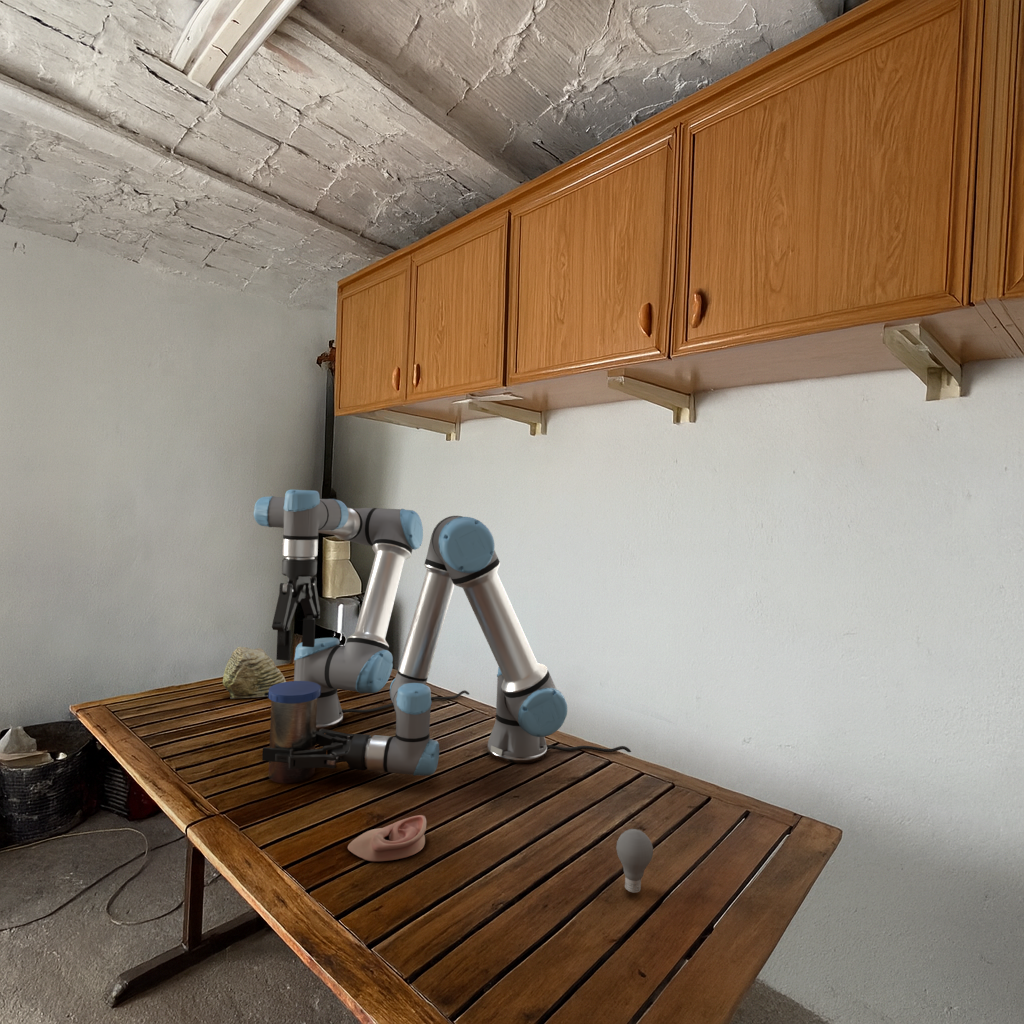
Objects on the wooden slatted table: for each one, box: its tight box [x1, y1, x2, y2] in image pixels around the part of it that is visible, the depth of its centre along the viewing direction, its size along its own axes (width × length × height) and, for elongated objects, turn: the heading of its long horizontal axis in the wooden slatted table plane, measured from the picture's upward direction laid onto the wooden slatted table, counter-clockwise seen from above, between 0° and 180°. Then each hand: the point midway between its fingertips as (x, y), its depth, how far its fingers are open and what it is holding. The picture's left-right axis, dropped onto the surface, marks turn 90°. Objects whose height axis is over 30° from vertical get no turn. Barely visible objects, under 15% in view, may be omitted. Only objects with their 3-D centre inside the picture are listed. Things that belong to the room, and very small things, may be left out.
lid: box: [267, 680, 321, 703], centre depth 144 cm, size 11×11×2 cm
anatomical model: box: [347, 814, 427, 862], centre depth 116 cm, size 13×4×12 cm
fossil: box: [222, 646, 287, 699], centre depth 198 cm, size 9×18×15 cm, turn 132°
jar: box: [268, 698, 317, 784], centre depth 144 cm, size 10×10×19 cm
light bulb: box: [615, 828, 654, 894], centre depth 106 cm, size 6×6×10 cm
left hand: (296, 652), depth 144 cm, fingers open, 12 cm apart
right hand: (274, 744), depth 144 cm, fingers closed on jar, 10 cm apart
